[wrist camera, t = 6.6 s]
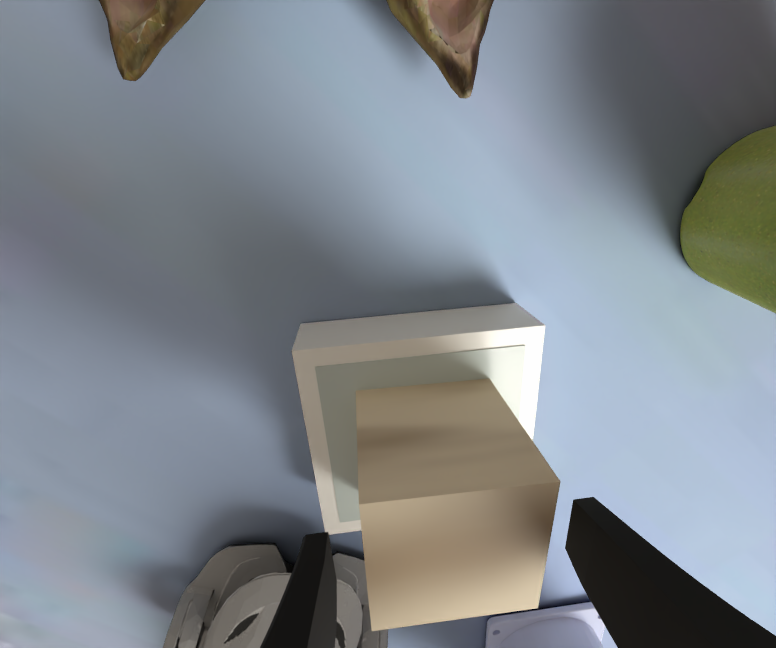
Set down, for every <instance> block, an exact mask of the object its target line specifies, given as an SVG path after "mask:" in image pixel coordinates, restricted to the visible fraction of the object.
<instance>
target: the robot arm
mask: <svg viewBox="0 0 776 648" xmlns="http://www.w3.org/2000/svg"><path fill="white" fill-rule="evenodd" d="M565 549H566V551H567V553H568V555H569V558H570V560H571V562H572V565H573V567H574V569H575V571H576V573H577V575H578V578H579V580H580V582H581V584H582V586H583V588H584V590H585V592H586V593H587V595H588V597H589V599H590V601H591V602H587V603H580V604H574V605H567V606H560V607H554V608H547V609H541V610H534V611H528V612H521V613H515V614H508V615H501V616H495V617H492V618H490V619H489V620H488V621H487V630H486V646H485V648H604V647H603V645H602V644H601V640H602V637H603V633H604V629H605V626H606V628H607V630H608V632H609V633H610V635H611V637H612V638H613V640H614V642H615V644H616V645H617V647H618V648H776V636H775V635H774V634H772V633H771V632H769V631H768V630H766V629H765V628H763V627H762V626H760V625H759V624H757V623H756V622H754V621H753V620H751V619H750V618H748V617H747V616H745V615H744V614H743V613H741V612H740V611H738V610H737V609H735V608H734V607H733V606H731V605H730V604H728V603H727V602H726V601H724V600H723V599H722V598H720V597H719V596H717V595H716V594H715V593H713V592H712V591H711V590H709V589H708V588H707V587H705V586H704V585H702V584H701V583H700V582H698V581H697V580H696V579H694V578H693V577H692V576H691V575H689V574H688V573H687V572H685V571H684V570H683V569H681V568H680V567H679V566H678V565H676V564H675V563H674V562H672V561H671V560H670V559H669V558H667V557H666V556H665V555H664V554H662V553H661V552H660V551H658V550H657V549H656V548H655V547H654V546H652V545H651V544H650V543H649V542H647V541H646V540H645V539H644V538H642V537H641V536H640V535H639V534H638V533H636V532H635V531H634V530H633V529H631V528H630V527H629V526H628V525H627V524H625V523H624V522H623V521H622V520H621V519H619V518H618V517H617V516H616V515H615V514H613V513H612V512H611V511H610V510H609V509H607V508H606V507H605V506H604V505H602V504H601V503H600V502H599V501H598V500H596V499H595V498H594V497H590V498H582V499H575V500H573V505H572V511H571V517H570V523H569V529H568V535H567V541H566V547H565ZM336 627H337V578H336V573H335V567H334V561H333V556H332V550H331V545H330V539H329V533H328V532H324V533H316V534H309V535H306V536H305V537H304V538H303V540H302V544H301V547H300V550H299V553H298V556H297V559H296V562H295V565H294V568H293V571H292V573H291V576H290V578H289V581H288V584H287V586H286V589H285V591H284V594H283V596H282V599H281V601H280V603H279V606H278V608H277V610H276V613H275V615H274V617H273V620H272V622H271V625H270V627H269V629H268V631H267V633H266V636H265V638H264V640H263V642H262V644H261V646H260V648H335V639H336Z"/></svg>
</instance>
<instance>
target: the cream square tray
mask: <svg viewBox="0 0 776 648" xmlns="http://www.w3.org/2000/svg"><path fill="white" fill-rule="evenodd" d="M544 332H545V325H544V324H543V323H542V322H540V321H539V320H538V319H536V318H535V317H534V316H532V315H531V314H530V313H529V312H527V311H526V310H525V309H523V308H522V307H521V306H519V305H518V304H517V303H510V304H499V305H489V306H478V307H468V308H457V309H447V310H437V311H426V312H416V313H405V314H395V315H384V316H374V317H363V318H353V319H343V320H332V321H322V322H311V323H301V324H300V327H299V330H298V333H297V336H296V339H295V342H294V345H293V348H292V356H293V361H294V367H295V372H296V377H297V383H298V388H299V394H300V399H301V404H302V410H303V415H304V421H305V426H306V431H307V437H308V442H309V448H310V453H311V459H312V464H313V469H314V475H315V480H316V486H317V491H318V496H319V502H320V507H321V513H322V518H323V523H324V529H325V532H328V533H329V535H331V534H339V533H346V532H354V531H361V520H360V510H359V491H358V456H357V421H356V390H367V389H378V388H390V387H401V386H412V385H423V384H434V383H445V382H456V381H467V380H478V379H489V378H490V380H491V381H492V383H493V384H494V386H495V387H496V389H497V390H498V392H499V393H500V394H501V396H502V397H503V399H504V400H505V402H506V403H507V405H508V406H509V408H510V409H511V410H512V412H513V413H514V415H515V416H516V418H517V419H518V421H519V422H520V424H521V425H522V426H523V428H524V429H525V431H526V432H527V434H528V435H529V437H530V438H531V440H532V441H533V434H534V425H535V416H536V407H537V397H538V388H539V379H540V369H541V360H542V351H543V341H544Z"/></svg>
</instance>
